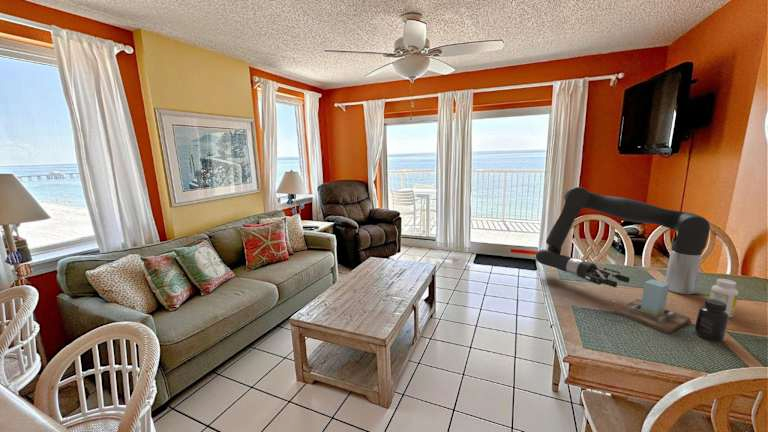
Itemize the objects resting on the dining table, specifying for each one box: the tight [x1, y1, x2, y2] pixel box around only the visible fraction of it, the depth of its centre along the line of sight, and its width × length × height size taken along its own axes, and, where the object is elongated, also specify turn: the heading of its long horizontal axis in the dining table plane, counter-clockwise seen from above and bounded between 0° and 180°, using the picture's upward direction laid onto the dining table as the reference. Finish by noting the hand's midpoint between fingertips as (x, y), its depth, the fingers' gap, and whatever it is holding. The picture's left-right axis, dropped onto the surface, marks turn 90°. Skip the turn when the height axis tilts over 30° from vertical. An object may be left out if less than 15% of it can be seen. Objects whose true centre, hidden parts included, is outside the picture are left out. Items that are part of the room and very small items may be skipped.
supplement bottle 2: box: [693, 298, 730, 342], centre depth 99 cm, size 7×7×12 cm
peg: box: [640, 278, 669, 317], centre depth 111 cm, size 5×5×12 cm
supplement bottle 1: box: [708, 278, 739, 318], centre depth 112 cm, size 7×7×13 cm
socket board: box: [614, 298, 692, 335], centre depth 112 cm, size 16×16×3 cm
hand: (622, 282), depth 120 cm, fingers open, 8 cm apart
